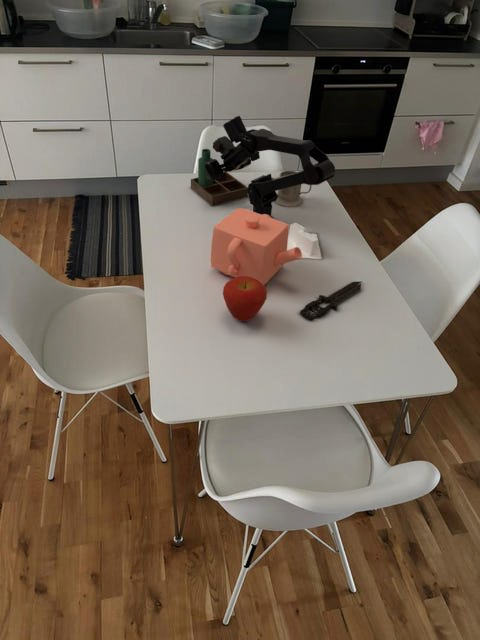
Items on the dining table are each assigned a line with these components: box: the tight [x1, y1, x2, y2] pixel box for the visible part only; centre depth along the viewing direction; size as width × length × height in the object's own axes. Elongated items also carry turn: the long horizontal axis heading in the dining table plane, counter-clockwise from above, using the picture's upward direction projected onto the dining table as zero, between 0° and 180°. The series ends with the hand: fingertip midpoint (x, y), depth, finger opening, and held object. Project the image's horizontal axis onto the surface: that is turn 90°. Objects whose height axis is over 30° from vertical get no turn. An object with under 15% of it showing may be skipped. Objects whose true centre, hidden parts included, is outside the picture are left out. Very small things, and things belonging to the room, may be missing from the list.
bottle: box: [197, 148, 214, 187], centre depth 183 cm, size 5×5×14 cm
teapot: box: [210, 207, 302, 286], centre depth 144 cm, size 25×23×18 cm
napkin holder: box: [287, 222, 323, 260], centre depth 162 cm, size 15×11×6 cm
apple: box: [222, 276, 268, 322], centre depth 131 cm, size 11×11×12 cm
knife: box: [299, 281, 362, 321], centre depth 142 cm, size 25×6×1 cm, turn 127°
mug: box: [275, 170, 313, 208], centre depth 181 cm, size 14×10×12 cm
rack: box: [190, 171, 249, 207], centre depth 186 cm, size 15×15×4 cm
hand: (215, 174), depth 180 cm, fingers open, 9 cm apart
